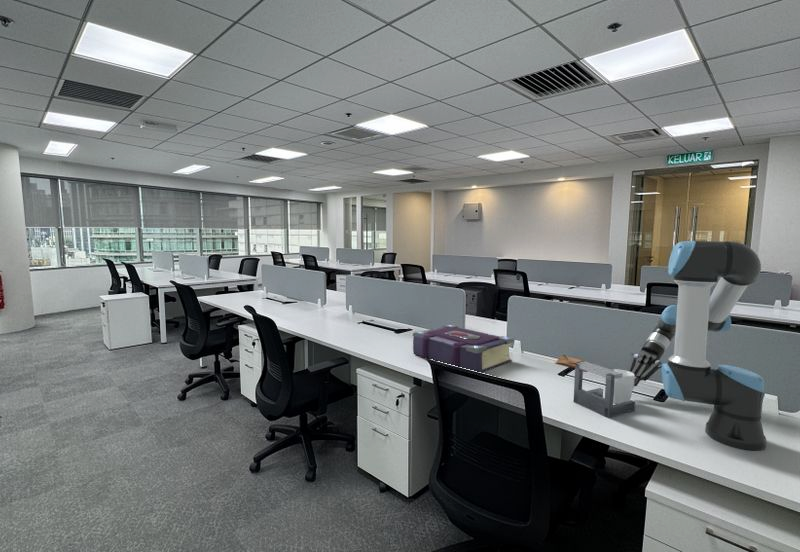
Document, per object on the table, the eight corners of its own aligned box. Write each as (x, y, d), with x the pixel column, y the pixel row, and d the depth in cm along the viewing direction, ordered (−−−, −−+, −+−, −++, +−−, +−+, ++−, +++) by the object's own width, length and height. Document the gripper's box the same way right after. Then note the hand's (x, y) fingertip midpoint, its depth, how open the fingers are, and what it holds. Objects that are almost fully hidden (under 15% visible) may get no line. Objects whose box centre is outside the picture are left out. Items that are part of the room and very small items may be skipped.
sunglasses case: (552, 363, 203) (556, 351, 205) (558, 367, 207) (562, 355, 209) (586, 372, 189) (590, 359, 191) (592, 376, 193) (596, 364, 195)
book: (474, 376, 183) (475, 347, 182) (409, 355, 217) (410, 330, 215) (512, 361, 206) (513, 336, 204) (448, 344, 239) (449, 322, 238)
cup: (607, 403, 153) (609, 374, 152) (607, 395, 161) (608, 367, 160) (633, 408, 149) (635, 378, 148) (632, 399, 157) (633, 371, 156)
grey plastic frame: (599, 395, 161) (601, 358, 159) (635, 410, 147) (637, 370, 145) (573, 401, 155) (575, 363, 153) (608, 418, 141) (611, 375, 139)
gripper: (675, 355, 158) (646, 401, 153) (643, 347, 170) (616, 390, 165) (667, 344, 156) (638, 391, 150) (636, 337, 167) (608, 380, 162)
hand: (626, 390), depth 158 cm, fingers closed
